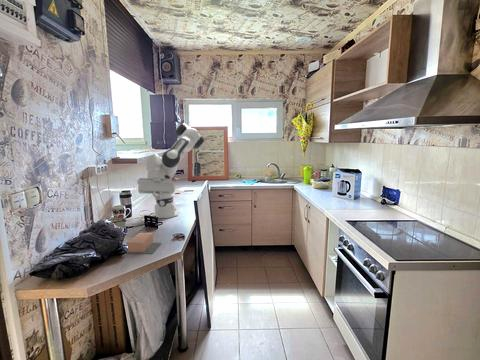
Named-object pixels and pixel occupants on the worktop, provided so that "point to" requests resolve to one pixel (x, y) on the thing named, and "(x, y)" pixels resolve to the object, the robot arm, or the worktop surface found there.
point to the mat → (149, 250)
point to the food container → (118, 222)
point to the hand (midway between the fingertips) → (158, 199)
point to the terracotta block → (140, 242)
